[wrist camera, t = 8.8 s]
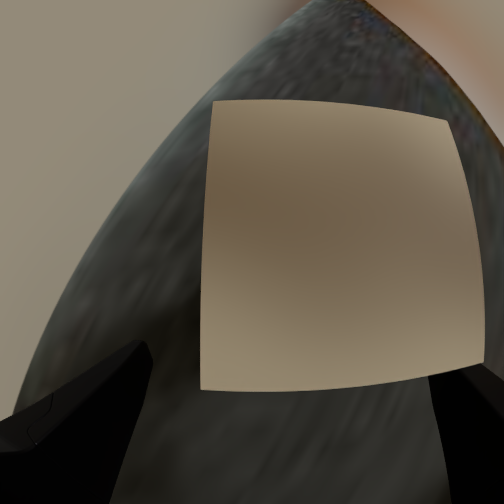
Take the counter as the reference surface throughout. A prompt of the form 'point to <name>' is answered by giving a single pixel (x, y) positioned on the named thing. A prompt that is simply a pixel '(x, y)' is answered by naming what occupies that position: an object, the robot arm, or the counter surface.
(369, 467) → the counter surface
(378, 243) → the beech post
